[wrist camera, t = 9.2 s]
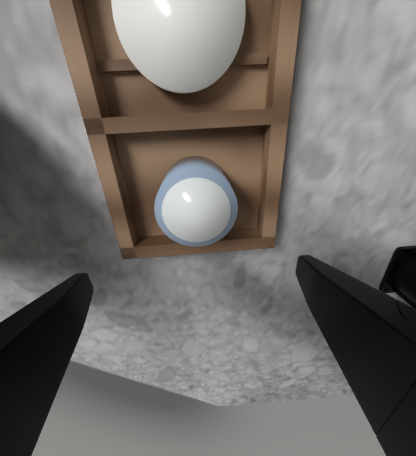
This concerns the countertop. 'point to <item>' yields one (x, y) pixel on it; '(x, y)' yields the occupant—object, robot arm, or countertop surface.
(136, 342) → the countertop surface
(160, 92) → the rack
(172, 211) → the white-capped blue cylinder
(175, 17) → the white smooth oval
